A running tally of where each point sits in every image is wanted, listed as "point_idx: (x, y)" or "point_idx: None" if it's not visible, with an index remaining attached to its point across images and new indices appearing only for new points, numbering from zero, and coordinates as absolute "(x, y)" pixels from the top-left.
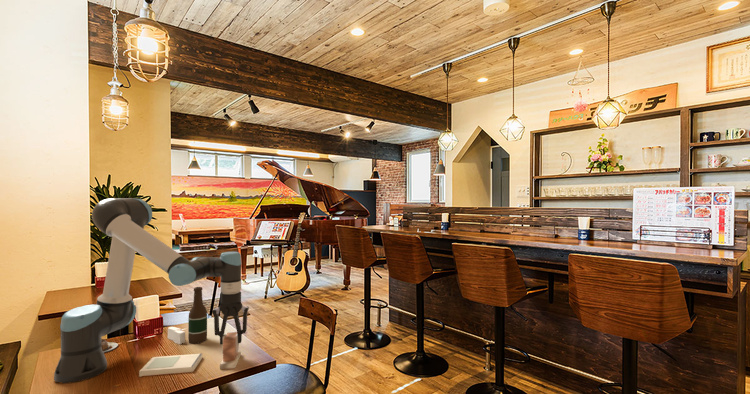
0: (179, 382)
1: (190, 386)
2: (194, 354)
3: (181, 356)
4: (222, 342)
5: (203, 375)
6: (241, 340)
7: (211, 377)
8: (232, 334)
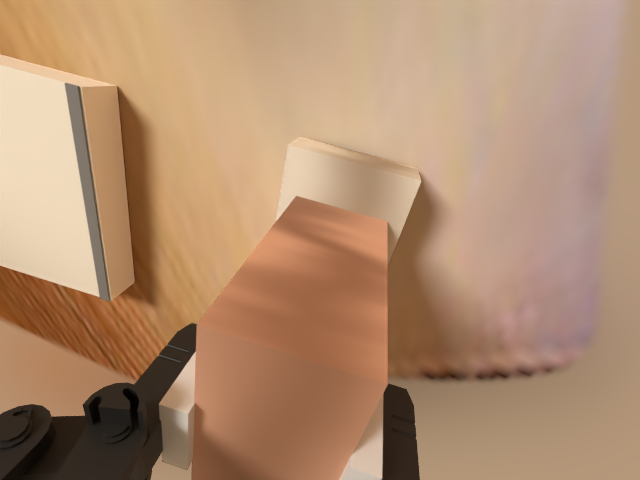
0: (112, 344)
1: None
2: (25, 84)
3: None
4: None
5: None
6: (410, 414)
7: None
8: (285, 428)
